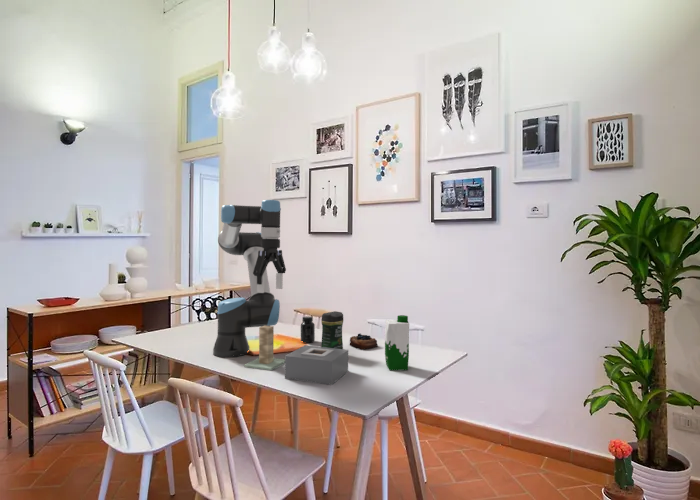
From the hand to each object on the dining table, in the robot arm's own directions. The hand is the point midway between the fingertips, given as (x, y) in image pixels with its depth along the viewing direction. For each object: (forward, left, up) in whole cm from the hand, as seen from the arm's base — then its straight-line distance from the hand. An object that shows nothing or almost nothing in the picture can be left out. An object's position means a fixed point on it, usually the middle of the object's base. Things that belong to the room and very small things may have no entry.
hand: (270, 290), depth 165 cm
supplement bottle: (0, +34, -29) cm, 44 cm away
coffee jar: (+20, +17, -29) cm, 39 cm away
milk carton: (+50, +10, -29) cm, 59 cm away
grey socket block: (+25, -9, -29) cm, 39 cm away
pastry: (+28, +36, -29) cm, 54 cm away
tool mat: (+1, -5, -29) cm, 29 cm away
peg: (+1, -5, -28) cm, 28 cm away
